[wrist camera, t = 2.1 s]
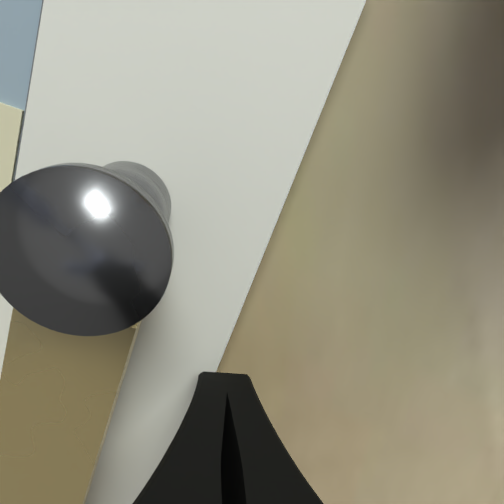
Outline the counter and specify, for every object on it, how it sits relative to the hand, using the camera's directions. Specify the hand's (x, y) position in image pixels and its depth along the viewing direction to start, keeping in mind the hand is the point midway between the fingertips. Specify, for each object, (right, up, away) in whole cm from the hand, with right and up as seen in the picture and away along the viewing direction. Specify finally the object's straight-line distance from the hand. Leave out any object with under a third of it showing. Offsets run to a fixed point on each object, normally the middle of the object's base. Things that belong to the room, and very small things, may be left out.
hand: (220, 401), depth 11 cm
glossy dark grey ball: (-2, +6, -1) cm, 6 cm away
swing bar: (-4, -1, 0) cm, 4 cm away
